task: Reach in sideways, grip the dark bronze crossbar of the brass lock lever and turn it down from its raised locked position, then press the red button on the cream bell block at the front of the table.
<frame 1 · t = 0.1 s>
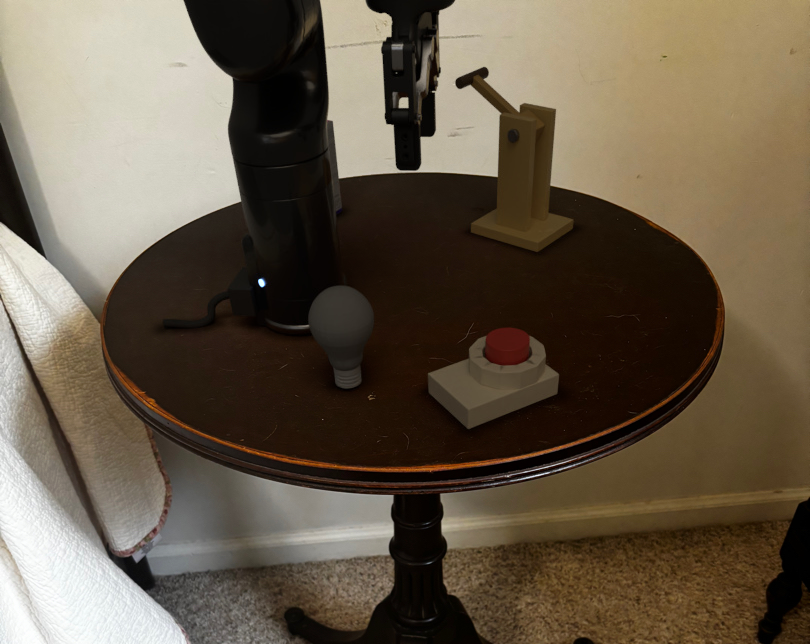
hand: (416, 151, 74), 17 cm above the table, tool pointing down, fingers open, 8 cm apart
bell block: (492, 393, 76), on the table
supplement box: (314, 216, 107), on the table
light bulb: (349, 386, 78), on the table
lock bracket: (521, 230, 101), on the table
bell button: (507, 347, 73), point 4 cm above the table, slide at 0.1 cm
lock lever: (501, 105, 93), point 14 cm above the table, hinge at 28.0°
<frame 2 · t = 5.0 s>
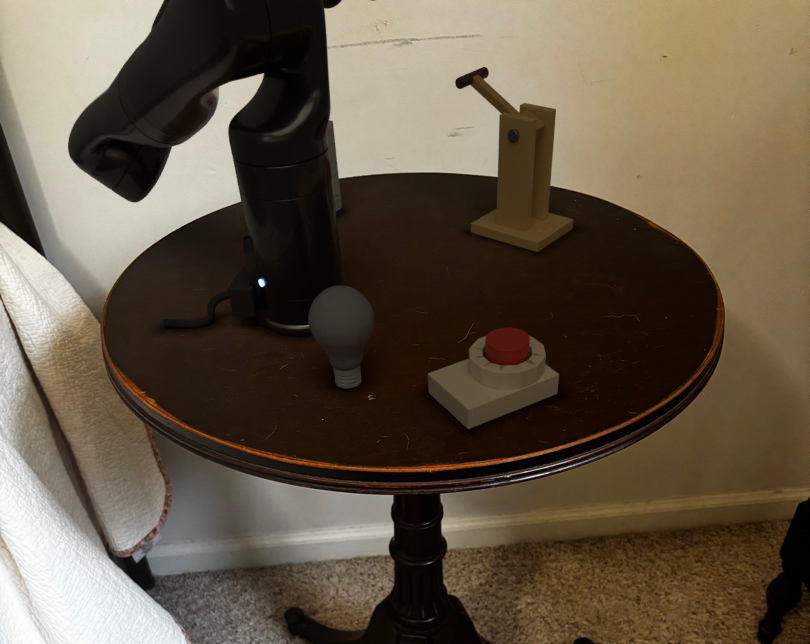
nothing on the table moved.
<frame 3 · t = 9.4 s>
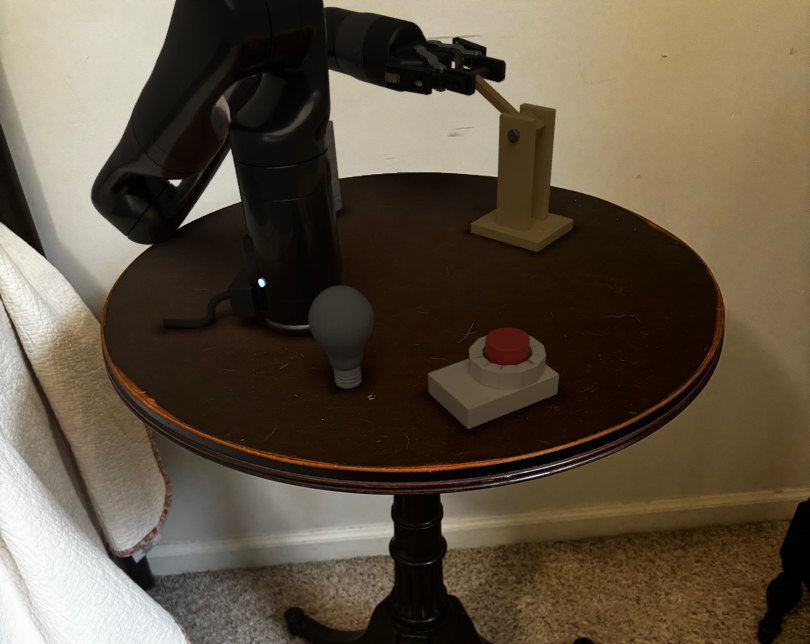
hand: (488, 78, 92), 16 cm above the table, tool horizontal, fingers closed on lock lever, 5 cm apart
lock lever: (502, 105, 93), point 14 cm above the table, hinge at 28.3°, touching gripper
everything else where it was.
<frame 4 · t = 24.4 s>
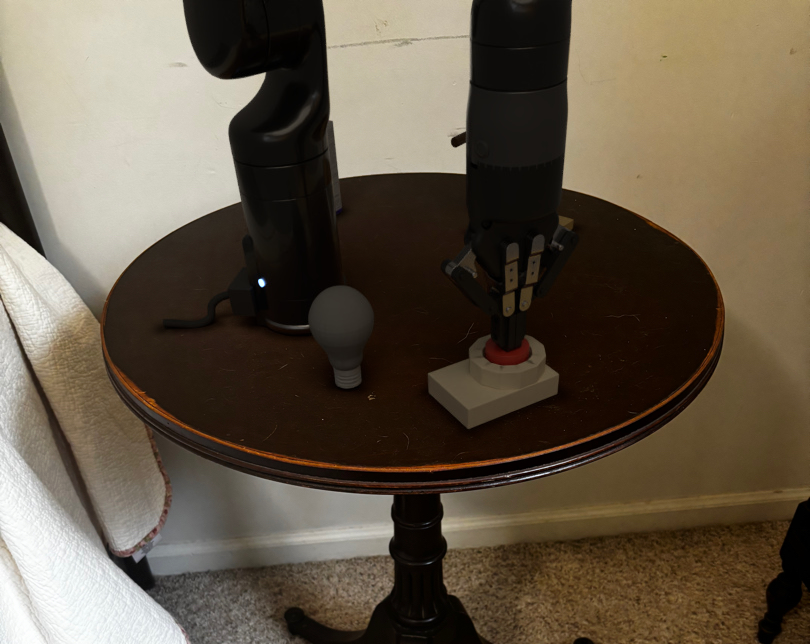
hand: (507, 345, 73), 5 cm above the table, tool pointing down, fingers closed
bell button: (507, 353, 73), point 4 cm above the table, slide at -0.5 cm, touching gripper
lock lever: (498, 132, 95), point 11 cm above the table, hinge at -14.9°
everything else where it was.
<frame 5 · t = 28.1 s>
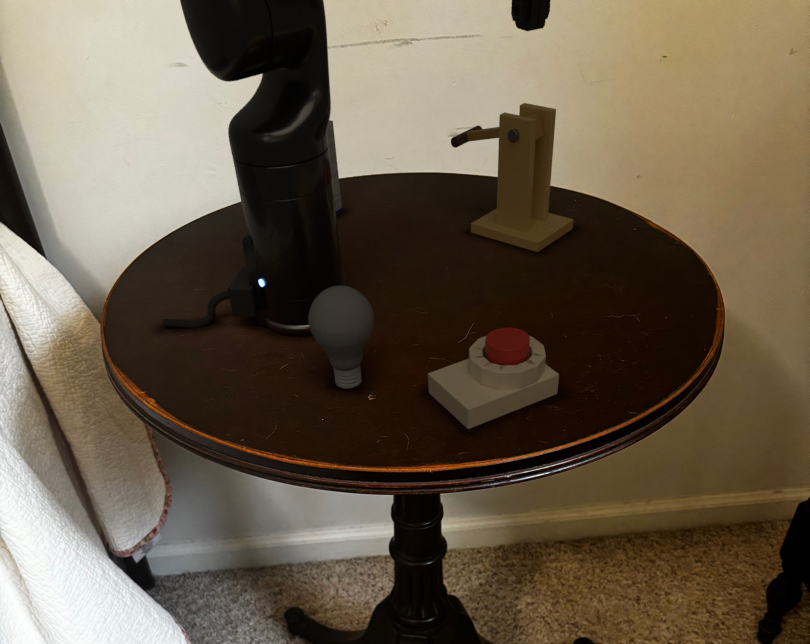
hand: (529, 28, 65), 27 cm above the table, tool pointing down, fingers closed
bell button: (507, 347, 73), point 4 cm above the table, slide at 0.1 cm
everything else where it was.
at the end: lock lever at -15° (first picture: +28°); bell button pushed in 1.1 cm at the most during the clip, back to where it started at the end; bell button slide at 0.1 cm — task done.
